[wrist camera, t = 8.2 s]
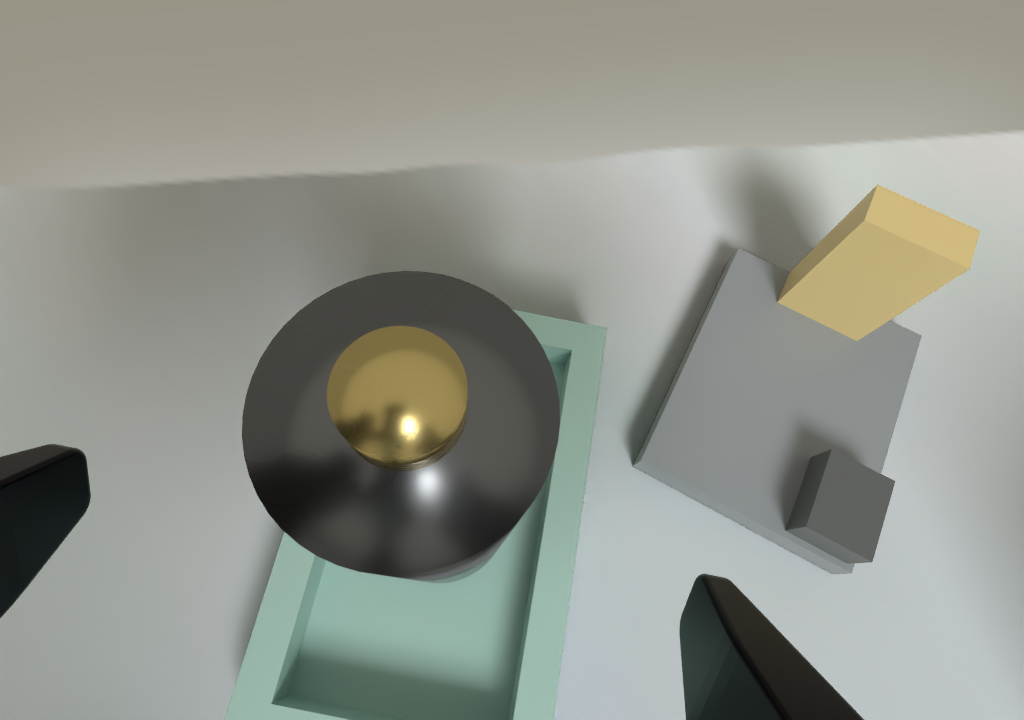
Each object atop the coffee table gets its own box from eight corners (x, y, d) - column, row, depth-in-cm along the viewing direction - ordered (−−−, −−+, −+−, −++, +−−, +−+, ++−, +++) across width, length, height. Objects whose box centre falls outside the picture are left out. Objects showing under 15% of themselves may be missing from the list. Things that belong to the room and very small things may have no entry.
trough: (532, 782, 16) (540, 807, 14) (246, 725, 16) (216, 742, 14) (594, 351, 21) (606, 327, 19) (373, 307, 21) (364, 280, 19)
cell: (431, 613, 17) (357, 663, 6) (348, 506, 18) (147, 367, 7) (534, 520, 18) (640, 409, 7) (452, 423, 19) (427, 186, 8)
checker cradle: (832, 574, 19) (987, 567, 13) (633, 466, 19) (698, 416, 14) (902, 346, 22) (1050, 262, 16) (727, 262, 23) (811, 154, 17)
